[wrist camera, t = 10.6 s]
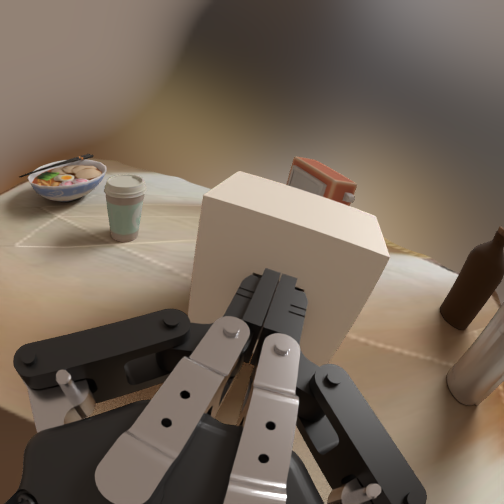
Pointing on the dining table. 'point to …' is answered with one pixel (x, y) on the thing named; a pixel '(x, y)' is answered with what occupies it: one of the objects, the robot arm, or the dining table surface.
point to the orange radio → (321, 181)
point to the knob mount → (287, 255)
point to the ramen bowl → (67, 178)
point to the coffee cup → (124, 205)
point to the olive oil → (475, 282)
